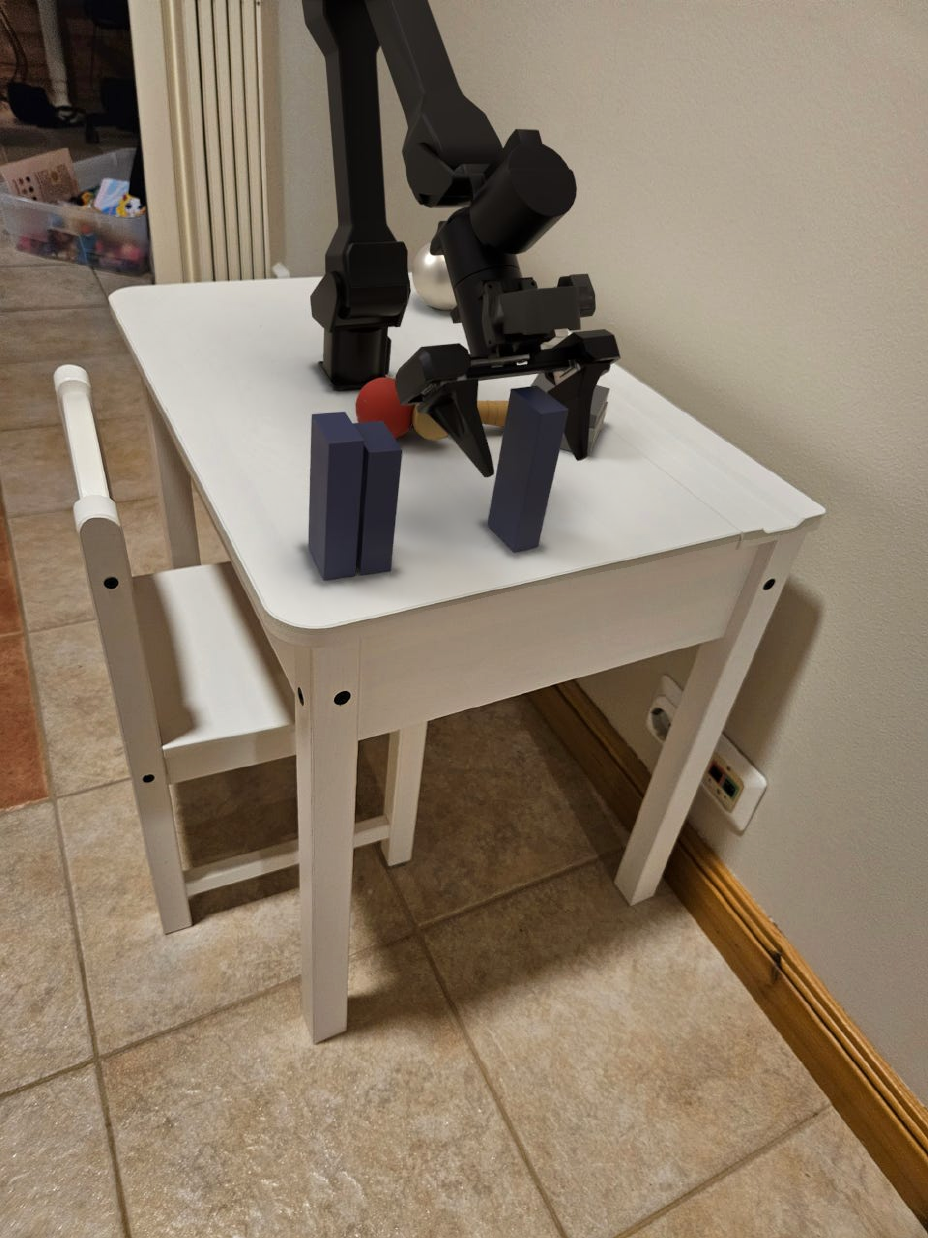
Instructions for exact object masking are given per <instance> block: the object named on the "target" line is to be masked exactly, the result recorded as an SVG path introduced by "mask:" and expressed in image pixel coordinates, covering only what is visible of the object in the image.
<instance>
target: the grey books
mask: <svg viewBox="0 0 928 1238" xmlns="http://www.w3.org/2000/svg"><path fill="white" fill-rule="evenodd" d="M536 385H537V386H539V387H540V388H541V389H542V390H544V391H545V392H546V393H547V391H549V390H550V389H552V388H553V387H555V386H554V385H553V384H552V383H551V382H549V381H548V380H547V379H546V378H545V374H544V373H541V374H536V377H535V378H534V380H533V381H532V383H531V384H530V386H536ZM610 389H611V388H610V387H607V386H603V385H599V384H597V385H596V387H595V389H594V393H593V398H592V404H591V412H590V425H589V439H588V452H587V457H589V456H590V455H591V453H592V450H593V448H594V446H595V444H596V441H597V439H598V437H599V434H600V433H601V431H602V429H603V426H604V422H605V418H606V414H607V411H608V410H607V409H608V405H609V401H608V398H609V394H610ZM560 450H565V451H569V452H572V451H571V449H570V447H569V445H568V443H567V440H566V438H565V435H564V433H563V437H562V442H561V446H560Z"/></svg>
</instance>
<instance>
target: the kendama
mask: <svg viewBox="0 0 928 1238" xmlns="http://www.w3.org/2000/svg"><path fill="white" fill-rule="evenodd" d="M508 403H509V400H477V406H478V410H479V414H480V417H481V421H482V424H483V425H487V426H495V427H501V428H504V426H505V420H506V414H507V408H508ZM418 405H419V404H415V405H407V406H403V405H400V403H399V399H398V395H397V391H396V388H395V378H393V377H387V376H386V377H383V378H377V379H374V380H372V381H370V382H368V383H367V384H366V385H365V386H364V387H363V388H360V390H359V392H358V394H357V397H356V400H355V405H354V406H355V408H354V409H355V410H354V411H355V417H356V420H357V423H363V422H377V421H383V422H384V424H385V425H386V427H387V428H388V429H389V431H390V432H391V434H392V435H393V437H394V438H395V439H396V440H397V439H398V438H401V437H402V436H404V435H406V434H408V433H410V432H413V431H415V432H416V433H417V434H418V435H419V436H421V437H422V438H424V439H425V440H428V441H440V440H443V439H445V438H447V437H448V436H449V435H448V434H447V433H446V432H445V431H444V430H443V429H442V428H441V427H440V426H439V425H438V424H437V423H436V422H435V421H434V420H433V419H432V418H431V417H430V416H429V415H428V414H418V412H417V409H416V407H417V406H418ZM412 426H413V428H412V429H411V427H412Z"/></svg>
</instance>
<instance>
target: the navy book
mask: <svg viewBox="0 0 928 1238" xmlns="http://www.w3.org/2000/svg"><path fill="white" fill-rule="evenodd" d="M508 401H509V403H508V408H507V414H506V420H505V426H504V427H503V430H502V436H501V444H500V449H499V454H498V461H497V464H496V465H497V466H496V472H495V477H494V483H493V487H492V488H493V489H492V494H491V499H490V506H489V512H488V517H487V523H486V526H487V527H488V528H489V529H490V530H491V531H492V532H493V533H494V534H495V535H496V536H497V537H498V538H499V539H500V541H502V542H503V543H504V544H505V545H506V546H507V547H508V548H509V549H510V551H512V553H517V552H523V551H526V550H530V549H534V548H538V547H539V545H540V540H541V537H542V532H543V527H544V522H545V517H546V513H547V509H548V505H549V504H548V503H549V500H550V496H551V492H552V486H553V482H554V477H555V473H556V468H557V465H558V464H557V463H558V459H559V455H560V450H561V448H560V446H561V442H562V437H563V433H564V428H565V424H566V419H567V415H568V409H567V408H566V407H564V406H563V405H562V404H561V403H559V402H558V401H557V400H555V399H554V398H553V397H552V396H550V395H549V394H548V393H546V392H545V391H544V390H542V389H541V388H540V387H539V386H537V385H536V386H531V385H530V386H521V387H513V388H510V393H509V398H508Z"/></svg>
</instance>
